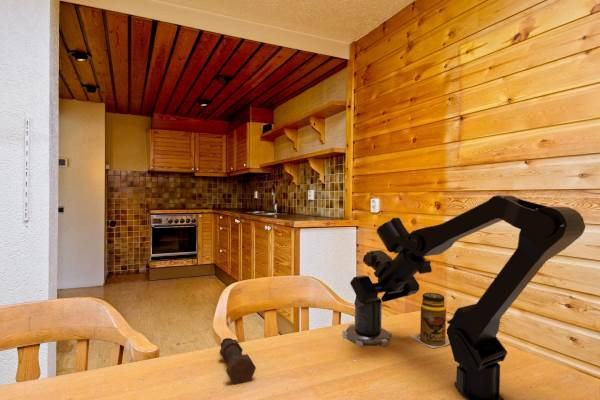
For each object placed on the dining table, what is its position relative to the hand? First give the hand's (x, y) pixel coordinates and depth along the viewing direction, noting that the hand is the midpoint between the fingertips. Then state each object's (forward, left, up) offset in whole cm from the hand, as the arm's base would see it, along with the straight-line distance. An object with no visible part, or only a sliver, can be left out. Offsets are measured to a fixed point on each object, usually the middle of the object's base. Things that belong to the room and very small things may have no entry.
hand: (369, 303), depth 93 cm
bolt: (+33, +15, -9) cm, 37 cm away
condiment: (-16, +2, -9) cm, 18 cm away
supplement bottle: (0, 0, -8) cm, 8 cm away
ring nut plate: (0, 0, -9) cm, 9 cm away
